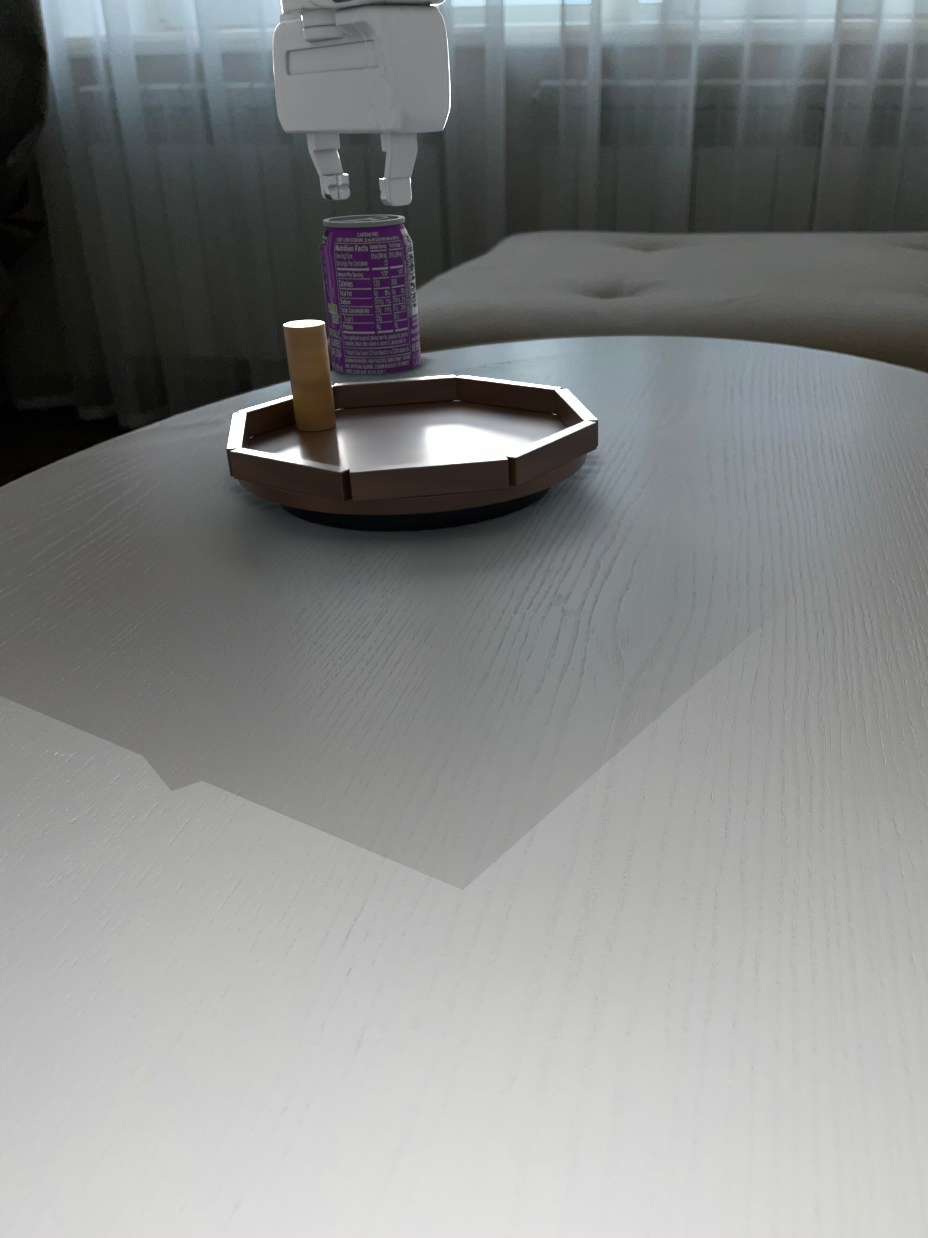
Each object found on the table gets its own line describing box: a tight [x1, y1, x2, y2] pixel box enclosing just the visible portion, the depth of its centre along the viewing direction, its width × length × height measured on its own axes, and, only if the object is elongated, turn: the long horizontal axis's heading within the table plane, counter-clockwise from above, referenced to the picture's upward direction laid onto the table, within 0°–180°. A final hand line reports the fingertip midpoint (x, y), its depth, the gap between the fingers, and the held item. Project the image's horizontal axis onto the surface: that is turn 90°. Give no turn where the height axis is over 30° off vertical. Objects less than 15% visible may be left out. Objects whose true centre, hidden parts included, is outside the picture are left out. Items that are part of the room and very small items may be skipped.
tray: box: [225, 319, 599, 515], centre depth 62 cm, size 20×20×7 cm
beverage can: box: [319, 214, 422, 375], centre depth 86 cm, size 7×7×12 cm
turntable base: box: [278, 487, 552, 533], centre depth 64 cm, size 16×16×2 cm
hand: (365, 202), depth 83 cm, fingers open, 8 cm apart
